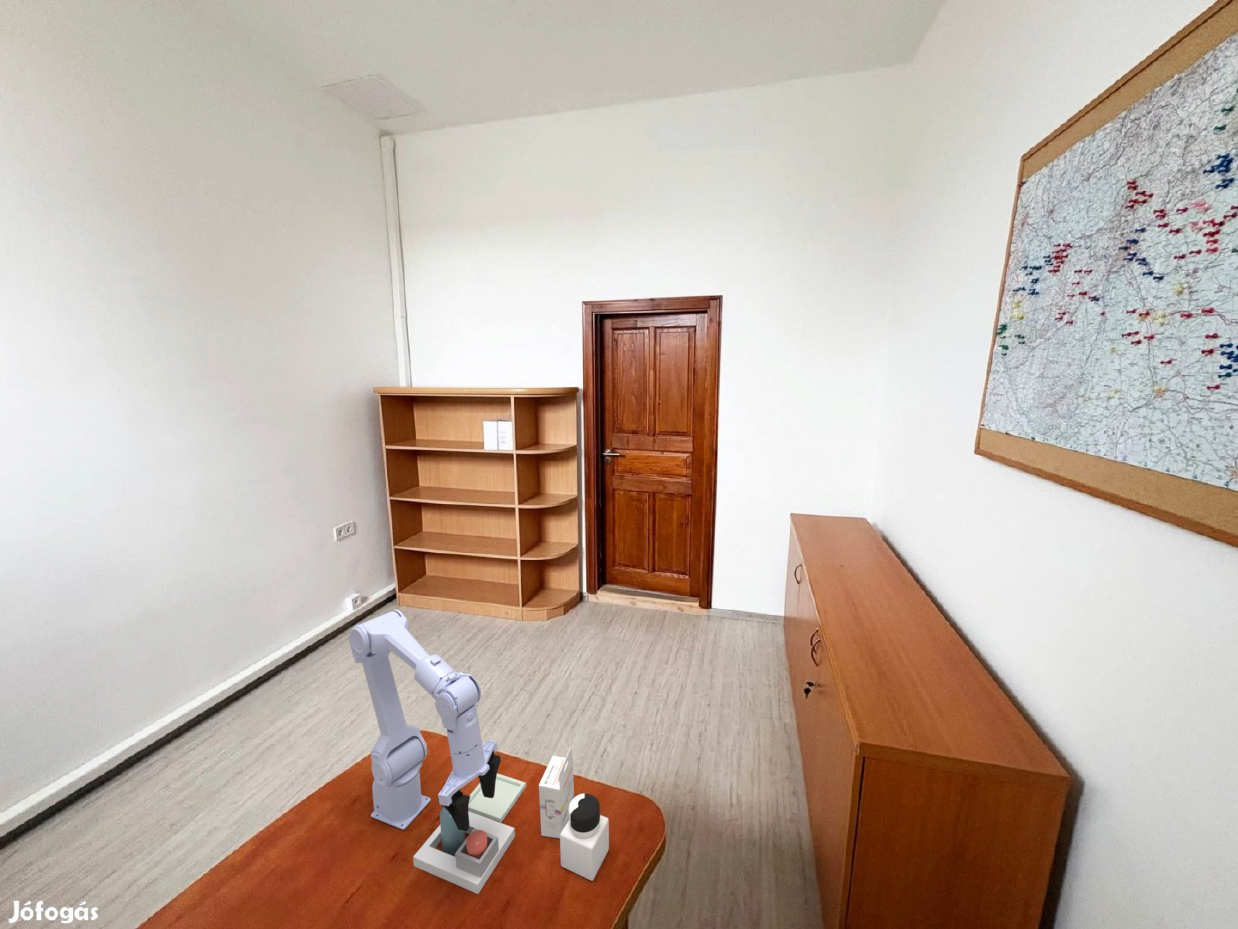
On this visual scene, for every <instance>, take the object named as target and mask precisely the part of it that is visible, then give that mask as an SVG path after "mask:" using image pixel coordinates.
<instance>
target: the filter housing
mask: <svg viewBox="0 0 1238 929" xmlns="http://www.w3.org/2000/svg"><path fill="white" fill-rule="evenodd" d="M468 814H469V829H468V830H467V831H465V834H468V835H470V834H471V833H472V832H474V831H477V830H482V831H484V832H486V834H487V845H488V848H487V849H486V851H485V852H484V854H483V855H482V857H481V858H480V859H476V858H474V857H471V856H469V855H467V846H466V840H467V838H468V836H467V837H466V838H465V841H464V843H463V844H462V845H461V847H460V848H459V849H458V851H457V852H456V853H455V856H451V855H449V854H447V853H444V852H442V850H439V849H436V848H437V847H438V846H439V844H440V843H442V840H441V824H439V825H438V827H436V829H435V830H434V831H433V832H432V834H431V835H429V837H428V838H427V839H426V841H425V842H424V843H423V844H422V846H421V847H420V848H419V849H418V850H417V852H416V853H415V854H414V855H413V857H412V859H413V860H412V861H413V866H414V867H415V868H417V869H420V870H422V871H425V872H426V873H429V874H431V875H433V876H435V877H438V878H440V879H442V880H445V881H447V882H449V883H452V884H454V885H456V886H459V887H460V888H464V889H465V890H467V891H469V892H472V893H474V894H477V895H479V894H480V892H481V890H482V889H483V887H484V886H485V884H486V883H487V881H488V880H489V878H490V877H491V875H492V873H493V872H494V870H495V868H496V867H497V865H498V864H499V862H500V861H501V860H502V858H503V856H504V855H505V853H506V851H507V850H508V848H509V847H510V845H511V844H512V842H513V840H514V839H515V837H516V834H515V833H516V831H515V827H513V826H510V825H507V824H505V823H503V822H502V823H499V822H496V821H494V820H491V819H488V818H486V817H483V816H480V815H477V814H475V813H472V812H469V811H468Z"/></svg>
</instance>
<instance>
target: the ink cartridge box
mask: <svg viewBox="0 0 1238 929" xmlns="http://www.w3.org/2000/svg"><path fill="white" fill-rule="evenodd" d="M568 749H569V750H568V751H567V754H566V757H564V756H557V755H552V756H551V758H550V761H549V763H548V765H547V767H546V769H545V771H544V772H543V776H542V777H541V779H540V782H539V784H538V793H539V814H540V815H539V816H540V832H541V833H540V835H541V836H543V837H547V838H554V839H559V840H560V833H561V832H562V830H563V829H564V827H565V826H566V824H567V822H568V821H569V804H570V802H571V801H572V799H573V798H575V788H574V787H575V785H574V782H575V780H574V757H573V750H572V747H571V746H570V747H569V748H568Z"/></svg>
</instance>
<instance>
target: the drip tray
mask: <svg viewBox="0 0 1238 929" xmlns="http://www.w3.org/2000/svg"><path fill="white" fill-rule="evenodd" d="M526 788H527V783H526V782H524V781H522V780H519V779H515V778H513V777H510V776H506V775H504V774H500V773H498V772H497V776H496V783H495V794H494V797H493V798H487V797H484V796H483V793H482V789H481V785H480V782H479V783H478V785H477V786H476V787H475V788H474V789H473V791H471V793H470V794H469V796H470V800H469V806H468V811H469V812H472V813H475V814H477V815H480V816H483V817H486V818H488V819H491V820H494V821H496V822H499V823H502V824H503V821H504V820H505V819H506V817H507V816H508V814H509V812H510V811H511V809H513V807H514V805H516V803H517V801H518V799H519V798H520V797H521V795H522V794H523V792H524V791H525V789H526Z"/></svg>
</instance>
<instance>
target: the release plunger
mask: <svg viewBox="0 0 1238 929" xmlns="http://www.w3.org/2000/svg"><path fill="white" fill-rule="evenodd" d="M467 837H468V838H467ZM467 837H466V839H467V840H466V839H465V840H466V846H467V855H469V856H471V857H474V858H476V859H480V858H481V857H482V855H483V854H484V852H485V851H486V849H487V848H488V845H487V834H486V832H484V831H482V830H477V831H474V832H472V833H471V834H468V836H467Z"/></svg>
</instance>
